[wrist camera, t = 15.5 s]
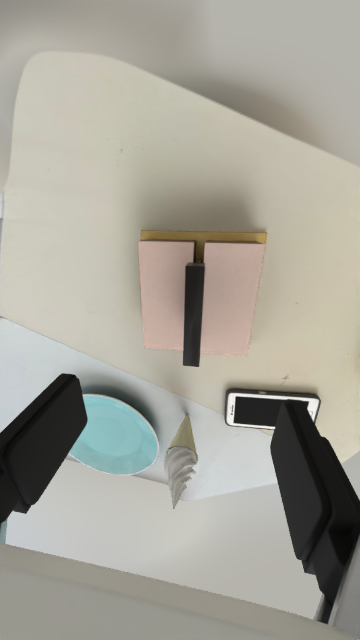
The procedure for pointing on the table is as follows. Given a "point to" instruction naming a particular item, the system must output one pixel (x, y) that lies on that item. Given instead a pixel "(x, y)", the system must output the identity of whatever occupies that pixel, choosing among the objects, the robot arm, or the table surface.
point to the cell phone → (262, 407)
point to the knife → (193, 312)
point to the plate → (115, 437)
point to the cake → (219, 288)
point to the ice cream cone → (180, 460)
